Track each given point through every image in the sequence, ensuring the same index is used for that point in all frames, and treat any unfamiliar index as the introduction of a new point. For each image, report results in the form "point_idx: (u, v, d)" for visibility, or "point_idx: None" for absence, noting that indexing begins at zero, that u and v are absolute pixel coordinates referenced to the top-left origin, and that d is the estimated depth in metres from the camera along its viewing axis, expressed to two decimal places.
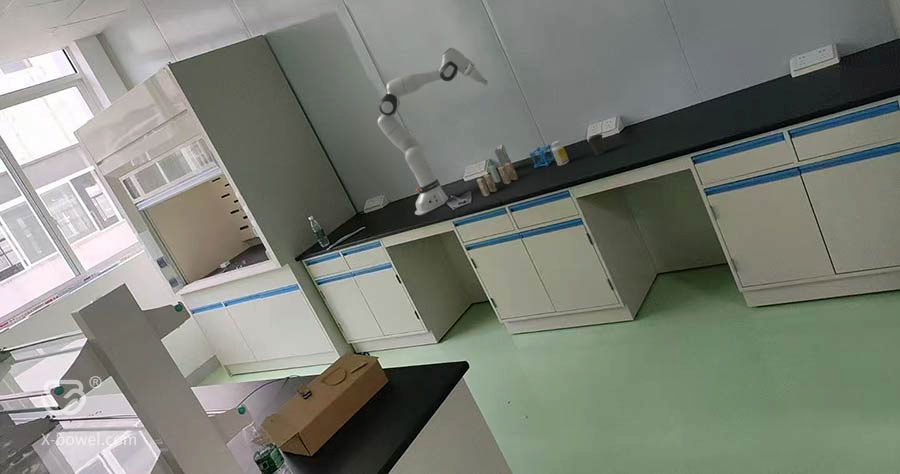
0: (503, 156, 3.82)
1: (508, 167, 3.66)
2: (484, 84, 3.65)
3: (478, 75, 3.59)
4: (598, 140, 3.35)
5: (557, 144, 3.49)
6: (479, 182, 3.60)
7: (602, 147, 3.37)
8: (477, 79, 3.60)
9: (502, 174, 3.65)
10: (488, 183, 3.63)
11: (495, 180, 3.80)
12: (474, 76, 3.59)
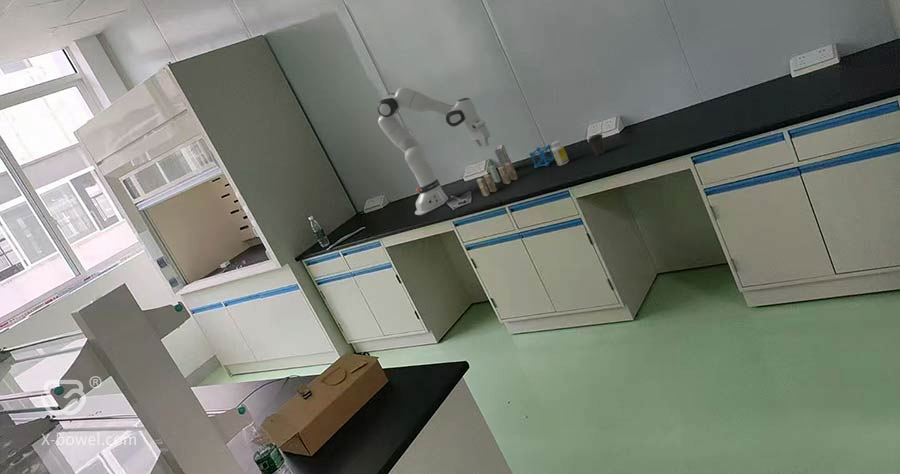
0: (503, 156, 3.82)
1: (508, 167, 3.66)
2: (485, 144, 3.68)
3: (487, 132, 3.63)
4: (598, 140, 3.35)
5: (557, 144, 3.49)
6: (479, 182, 3.60)
7: (602, 147, 3.37)
8: (485, 135, 3.63)
9: (502, 174, 3.65)
10: (488, 183, 3.63)
11: (495, 180, 3.80)
12: (484, 131, 3.62)
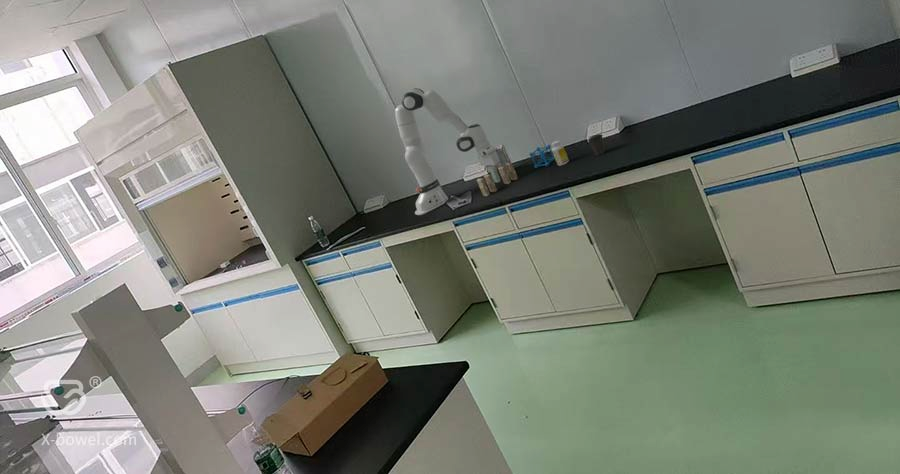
0: (503, 156, 3.82)
1: (508, 167, 3.66)
2: (494, 170, 3.74)
3: (497, 159, 3.68)
4: (598, 140, 3.35)
5: (557, 144, 3.49)
6: (479, 182, 3.60)
7: (602, 147, 3.37)
8: (495, 162, 3.67)
9: (502, 174, 3.65)
10: (488, 183, 3.63)
11: (495, 180, 3.80)
12: (494, 158, 3.67)
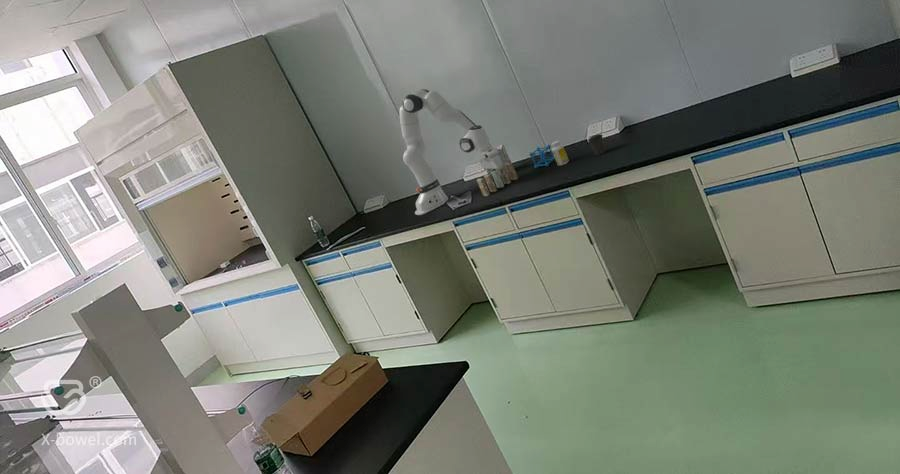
0: (503, 156, 3.82)
1: (508, 167, 3.66)
2: (497, 173, 3.58)
3: (500, 162, 3.53)
4: (598, 140, 3.35)
5: (557, 144, 3.49)
6: (479, 182, 3.60)
7: (602, 147, 3.37)
8: (498, 165, 3.52)
9: (502, 174, 3.65)
10: (488, 183, 3.63)
11: (498, 185, 3.65)
12: (496, 161, 3.52)
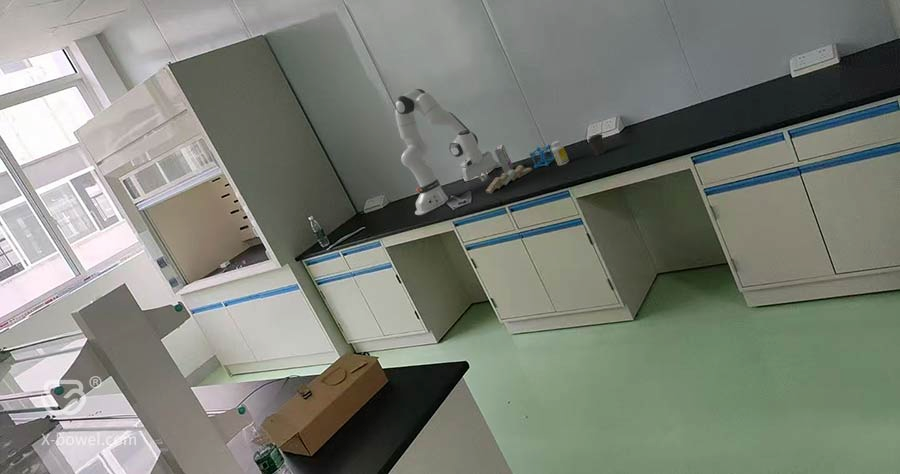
0: (503, 156, 3.82)
1: (526, 169, 3.71)
2: (481, 179, 3.61)
3: (465, 176, 3.55)
4: (598, 140, 3.35)
5: (557, 144, 3.49)
6: (496, 179, 3.64)
7: (602, 147, 3.37)
8: (465, 177, 3.57)
9: (516, 170, 3.68)
10: None
11: None
12: (464, 174, 3.56)
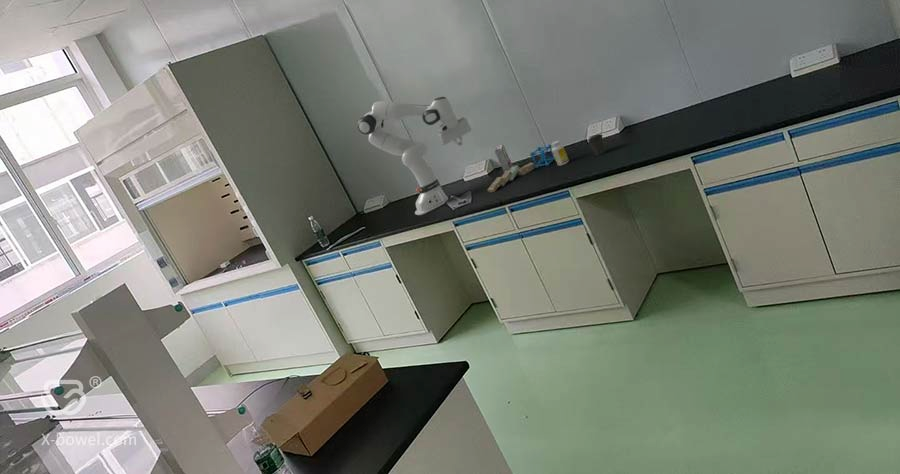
0: (503, 156, 3.82)
1: None
2: None
3: (441, 140, 3.66)
4: (598, 140, 3.35)
5: (557, 144, 3.49)
6: (498, 179, 3.66)
7: (602, 147, 3.37)
8: (440, 142, 3.68)
9: (526, 165, 3.71)
10: (503, 177, 3.68)
11: None
12: (439, 138, 3.67)
